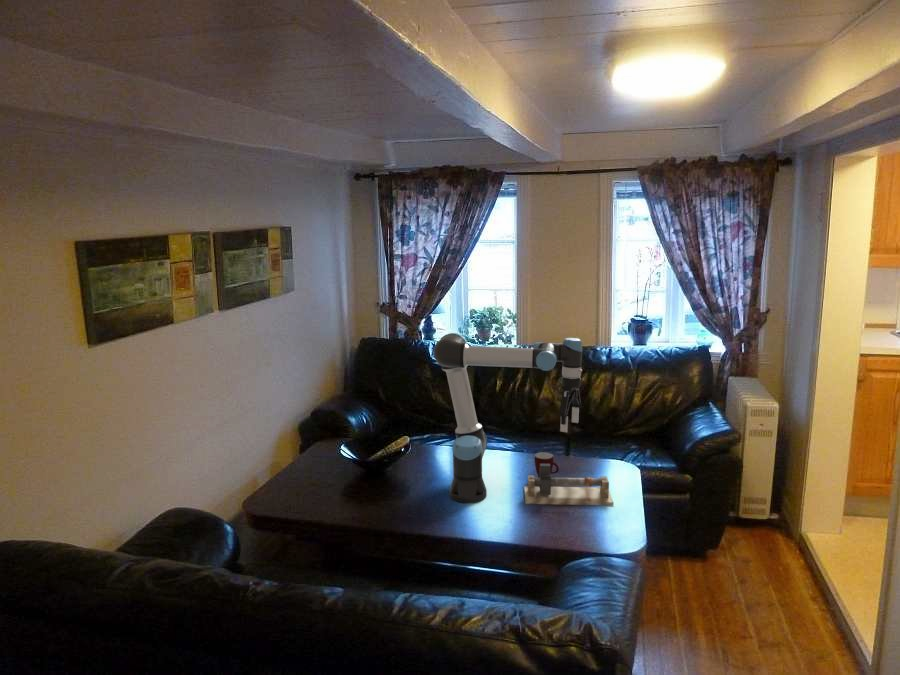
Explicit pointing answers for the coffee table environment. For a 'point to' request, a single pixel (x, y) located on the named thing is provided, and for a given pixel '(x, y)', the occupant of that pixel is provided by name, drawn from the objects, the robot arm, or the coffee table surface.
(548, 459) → the mug
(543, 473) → the collar
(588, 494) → the pipe rig
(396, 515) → the coffee table surface
